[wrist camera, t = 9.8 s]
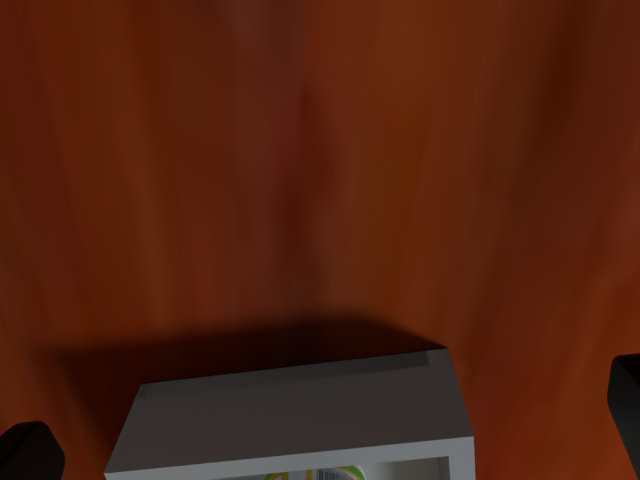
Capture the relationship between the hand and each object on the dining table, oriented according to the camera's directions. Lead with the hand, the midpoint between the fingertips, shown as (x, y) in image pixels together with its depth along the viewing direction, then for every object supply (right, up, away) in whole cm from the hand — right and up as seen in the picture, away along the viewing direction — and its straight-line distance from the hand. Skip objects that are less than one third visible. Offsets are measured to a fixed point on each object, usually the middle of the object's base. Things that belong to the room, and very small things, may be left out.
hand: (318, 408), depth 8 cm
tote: (0, -9, +20) cm, 22 cm away
